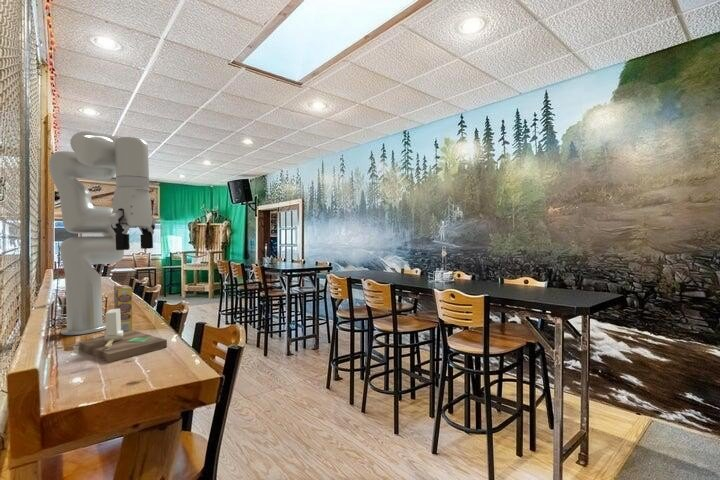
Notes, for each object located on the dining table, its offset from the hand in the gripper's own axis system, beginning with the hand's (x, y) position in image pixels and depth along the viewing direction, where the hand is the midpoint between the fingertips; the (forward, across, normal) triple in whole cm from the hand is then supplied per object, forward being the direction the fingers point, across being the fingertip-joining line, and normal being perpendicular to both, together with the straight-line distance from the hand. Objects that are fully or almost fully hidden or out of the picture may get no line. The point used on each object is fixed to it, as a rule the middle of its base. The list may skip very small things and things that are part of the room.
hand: (135, 249), depth 97 cm
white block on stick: (+25, -1, -8) cm, 26 cm away
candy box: (+28, -18, -17) cm, 37 cm away
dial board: (+27, -3, -7) cm, 28 cm away
